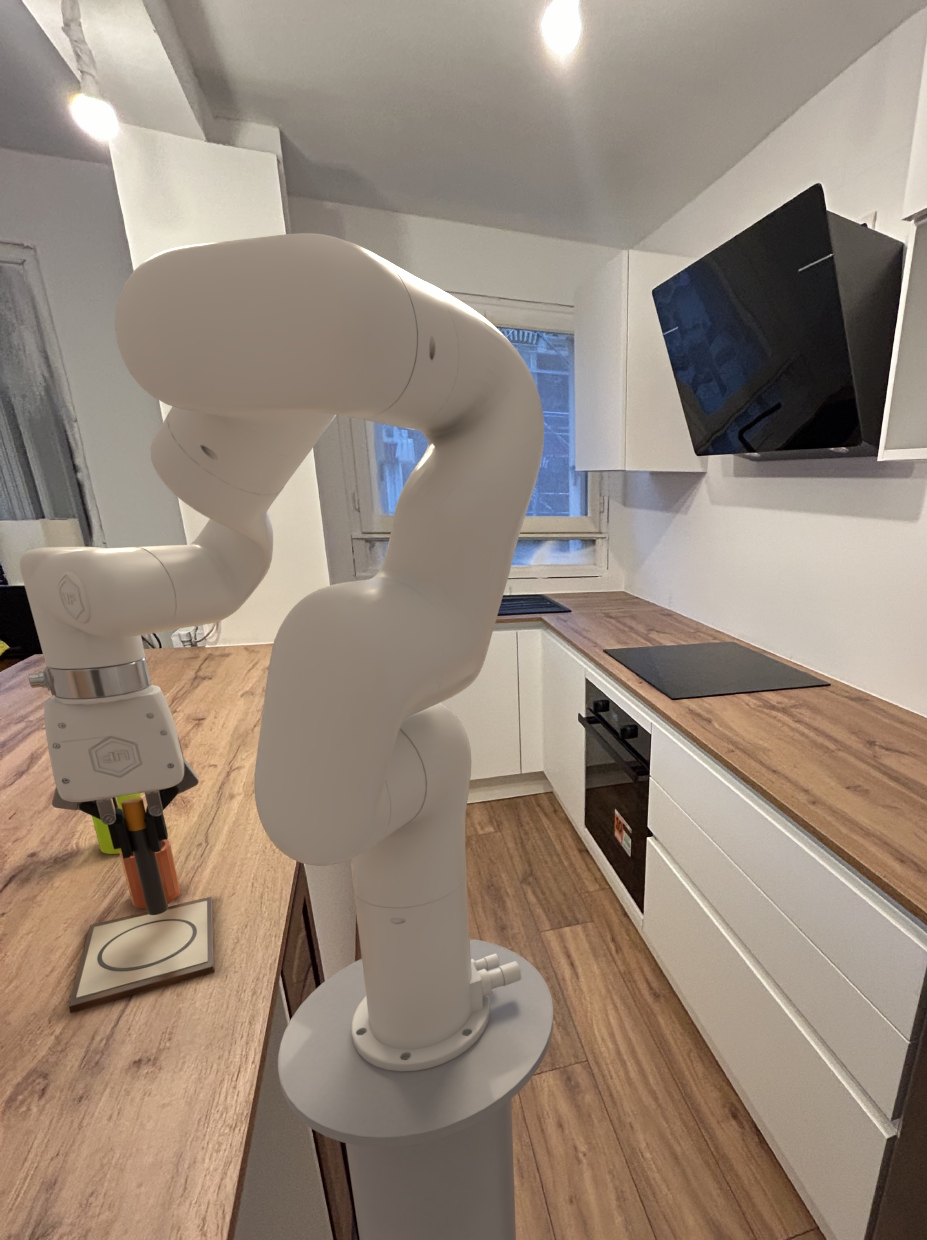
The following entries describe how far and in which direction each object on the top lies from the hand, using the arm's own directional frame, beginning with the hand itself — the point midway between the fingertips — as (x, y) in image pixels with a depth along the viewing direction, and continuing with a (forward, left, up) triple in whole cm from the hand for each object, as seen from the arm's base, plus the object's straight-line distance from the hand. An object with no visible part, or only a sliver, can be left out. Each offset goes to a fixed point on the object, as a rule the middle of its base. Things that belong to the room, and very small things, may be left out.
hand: (143, 848), depth 68 cm
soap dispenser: (+6, -30, -13) cm, 33 cm away
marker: (0, 0, -8) cm, 8 cm away
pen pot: (+2, -12, -12) cm, 17 cm away
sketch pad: (+2, 0, -12) cm, 13 cm away
